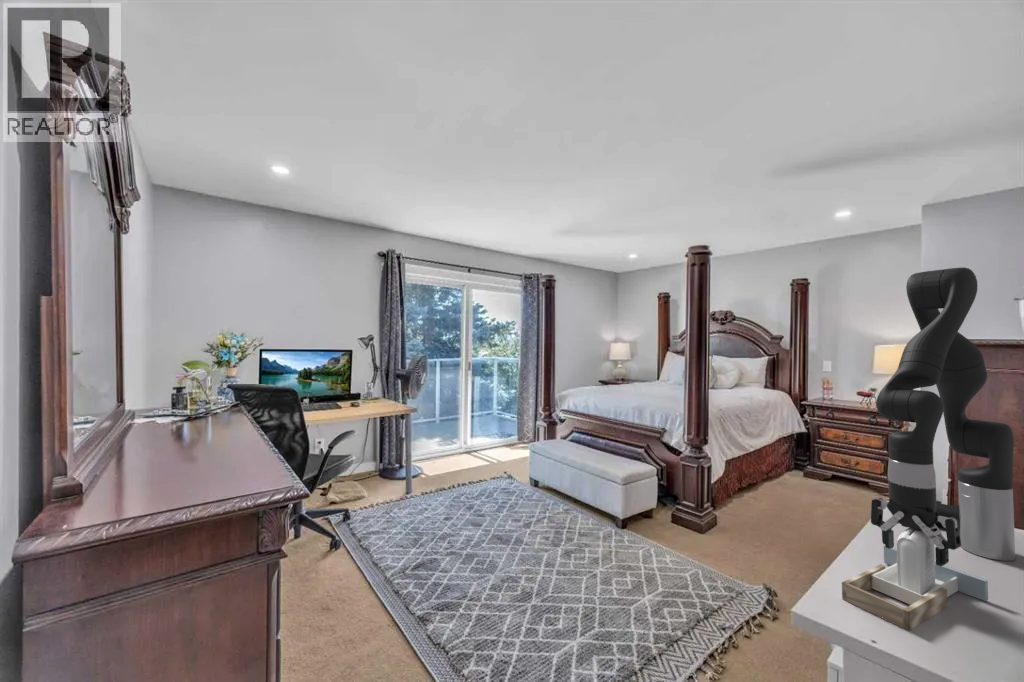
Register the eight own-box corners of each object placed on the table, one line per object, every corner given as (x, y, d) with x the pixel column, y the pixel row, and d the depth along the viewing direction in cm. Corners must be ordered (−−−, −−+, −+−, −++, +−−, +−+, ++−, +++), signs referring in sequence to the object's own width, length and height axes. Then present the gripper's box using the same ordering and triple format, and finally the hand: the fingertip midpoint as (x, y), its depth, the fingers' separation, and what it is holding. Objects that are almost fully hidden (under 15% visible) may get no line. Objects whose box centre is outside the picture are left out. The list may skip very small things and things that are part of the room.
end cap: (918, 524, 122) (917, 501, 122) (925, 518, 126) (924, 496, 126) (968, 537, 114) (967, 512, 114) (974, 530, 118) (973, 506, 118)
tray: (953, 623, 80) (952, 602, 80) (850, 578, 95) (849, 561, 95) (988, 599, 86) (987, 580, 87) (886, 561, 102) (886, 545, 102)
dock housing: (908, 630, 79) (908, 611, 79) (842, 599, 88) (841, 582, 89) (947, 606, 85) (946, 589, 85) (881, 579, 95) (880, 564, 95)
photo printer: (912, 574, 95) (910, 519, 95) (938, 583, 91) (936, 526, 91) (894, 588, 90) (892, 531, 90) (921, 599, 86) (919, 538, 86)
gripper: (964, 488, 86) (967, 567, 86) (880, 470, 99) (882, 538, 99) (948, 494, 83) (951, 576, 83) (863, 475, 96) (865, 545, 96)
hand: (913, 555), depth 91 cm, fingers open, 8 cm apart
